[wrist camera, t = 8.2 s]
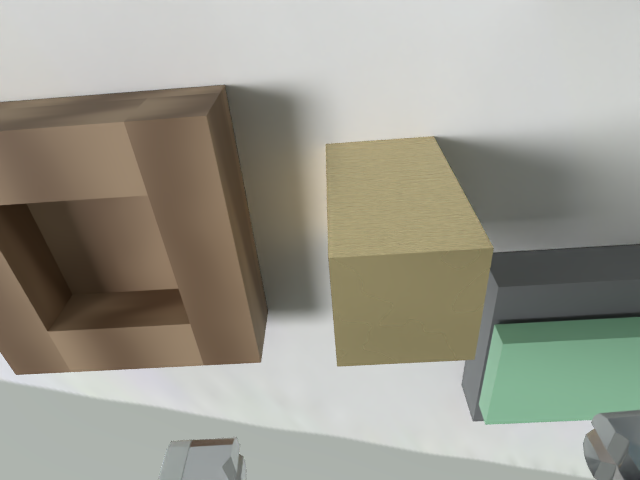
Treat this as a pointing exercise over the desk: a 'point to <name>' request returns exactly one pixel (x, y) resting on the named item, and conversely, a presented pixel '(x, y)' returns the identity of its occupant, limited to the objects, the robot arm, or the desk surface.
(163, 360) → the brown square frame
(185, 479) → the robot arm
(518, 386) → the button
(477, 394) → the block
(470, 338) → the block
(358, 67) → the desk surface
